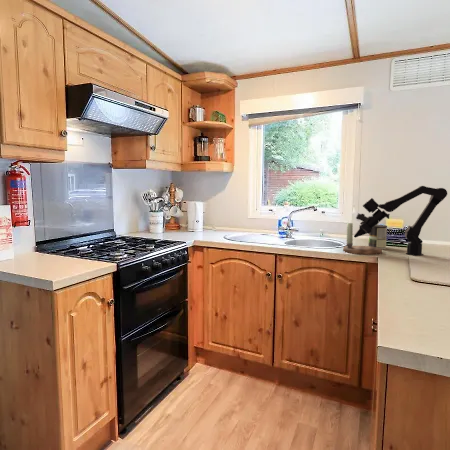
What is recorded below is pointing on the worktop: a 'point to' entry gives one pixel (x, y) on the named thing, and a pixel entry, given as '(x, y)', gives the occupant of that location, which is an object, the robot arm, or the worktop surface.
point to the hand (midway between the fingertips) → (354, 237)
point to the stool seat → (362, 250)
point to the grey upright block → (378, 236)
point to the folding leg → (350, 233)
